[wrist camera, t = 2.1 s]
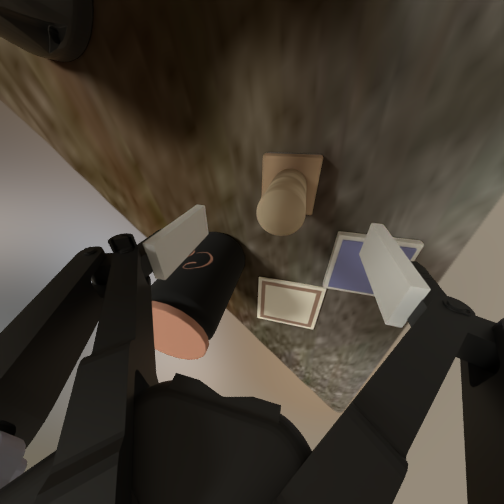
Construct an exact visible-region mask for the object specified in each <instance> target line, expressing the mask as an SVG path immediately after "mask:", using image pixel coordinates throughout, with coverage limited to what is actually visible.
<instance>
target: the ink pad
mask: <svg viewBox="0 0 504 504" xmlns="http://www.w3.org/2000/svg"><path fill="white" fill-rule="evenodd" d="M366 235H367V234H360V233H351V232H342V231H338V234H337V237H336V240H335V244H334V247H333V250H332V253H331V257H330V260H329V263H328V267H327V270H326V273H325V277H324V280H323V288H328V289H334V290H340V291H346V292H352V293H358V294H364V295H370V296H374V293H373V290H372V288H371V285H370V282H369V280H368V277H367V274H366V272H365V269H364V266H363V264H362V261H361V258H360V256H359V253H360V250H361V248H362V245H363V243H364V240H365V238H366ZM393 238H394V240H395V241H396V242H397V244H398V245H399V246H400V248H401V249H402V251H403V252H404V253H405V255H406V256H407V257H408V259H409V260H410V261H415V259H416V257H417V256H418V254H419V253H420V251H421V249H422V248H423V246H424V244H423V243H422V242H421V240H413V239H404V238H396V237H393Z"/></svg>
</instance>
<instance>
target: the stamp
mask: <svg viewBox="0 0 504 504" xmlns="http://www.w3.org/2000/svg"><path fill="white" fill-rule="evenodd" d="M322 161H323V156H322V154H303V153H277V152H267V153H265V154H264V155H263V170H262V198H261V200H260V202H259V203H258V206H257V219H258V222H259V224H260V225H261V226H262V228H263V229H264V230H266V231H267V232H269V233H270V234H273V235H277V236H286V235H290V234H292V233H294V232H296V231H297V230H298V229H299V228H300V227H301V226H302V224H303V222H304V220H305V214H307V215H312V211H313V206H314V201H315V196H316V191H317V186H318V181H319V176H320V171H321V166H322Z"/></svg>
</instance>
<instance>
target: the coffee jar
mask: <svg viewBox="0 0 504 504" xmlns="http://www.w3.org/2000/svg"><path fill="white" fill-rule="evenodd" d="M244 266H245V257H244V254H243V250H242V249H241V247H240V246H239V244H238V243H237V242H236V241H235V240H234V239H233V238H232V237H230V236H228V235H226V234H224V233H218V232H209V234H208V235H207V236H206V237H205V238H204V239H203V240H202V241H201V243H200V244H199V245H198V246H197V247H196V248H195V249H194V250H193V251H192V252H191V253H190V254H189V255H188V257H187V258H186V259H185V260H184V261H183V262H182V263H181V264H180V265H179V266H178V267H177V268H176V269H175V271H174V272H173V273H172V274H171V275H170V276H169V277H168V278H167V279H166V280H161V279H157V280H156V281H155V282H154V283H153V284H152V285H151V296H152V313H153V330H154V347H155V349H156V350H158V351H160V352H163V353H165V354H167V355H170V356H173V357H176V358H181V359H187V360H190V359H198V358H201V357H203V356H204V355H205V353H206V351H207V349H208V346H209V341H208V340H210V339H211V338H212V337H213V335H214V333H215V331H216V329H217V327H218V325H219V322H220V320H221V318H222V315H223V313H224V311H225V309H226V306H227V304H228V302H229V300H230V297H231V295H232V293H233V291H234V288H235V286H236V284H237V282H238V279H239V277H240V275H241V273H242V270H243V268H244Z"/></svg>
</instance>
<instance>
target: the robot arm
mask: <svg viewBox="0 0 504 504" xmlns="http://www.w3.org/2000/svg"><path fill="white" fill-rule="evenodd" d="M92 17H93V9H92V0H0V37H2V38H4V39H6V40H8V41H9V42H11V43H13V44H15V45H17V46H18V47H20V48H22V49H24V50H26V51H28V52H30V53H32V54H34V55H37V56H40V57H44V58H48V59H52V60H56V61H61V62H68V61H72V60H74V59H76V58H78V57H79V56H80V55H81V54H82V53H83V52H84V50H85V48H86V46H87V44H88V42H89V38H90V35H91V29H92ZM208 234H209V232H208V225H207V218H206V210H205V206H204V205H196V206H194V207H193V208H191V209H190V210H189V211H187V212H186V213H184V214H183V215H182V216H180V217H179V218H177V219H176V220H174V221H173V222H172V223H170V224H169V225H167V226H166V227H165V228H163V229H160V230H158V231H156V232H155V233H153V235H151V236H149V238H146V239H145V240H144V241H142V242H141V243H139V244H138V245H137V244H136V242H135V239H134V237H133V235H132V234H127V233H126V234H119V235H116V236H114V237H112V238H110V239H109V240H108V243H109V244H110V247H111V249H112V251H113V253H105V252H104V250H103V249H102V247H89V248H85V249H84V250H82V251H80V252H79V253H78V254H76V255H75V257H74V258H73V259H72V260H71V261H70V262H69V263H68V264H67V265H66V266H65V267H64V268H63V269H62V270H61V271H60V272H59V273H58V274H57V275H56V276H55V277H54V278H53V279H52V280H51V282H49V283H48V285H46V287H45V288H44V289H43V290H42V291H41V292H40V293H39V294H38V295H37V296H36V297H35V298H34V299H33V300H32V301H31V302H30V303H29V304H28V305H27V306H26V307H25V308H24V309H23V310H22V312H20V314H19V315H17V317H16V318H15V319H14V320H13V321H12V322H11V323H10V324H9V325H8V326H7V327H6V328H5V329H4V330H3V331H2V332H1V333H0V504H392V503H393V501H394V499H395V497H396V495H397V493H398V491H399V489H400V486H401V484H402V482H403V480H404V478H405V475H406V472H407V469H408V463H407V461H406V455H407V453H408V450H409V449H410V447H411V445H412V443H413V441H414V438H415V437H416V434H417V433H418V431H419V429H420V427H421V425H422V423H423V421H424V419H425V416H426V415H427V413H428V410H429V409H430V407H431V405H432V403H433V401H434V399H435V397H436V395H437V393H438V391H439V389H440V387H441V384H442V383H443V381H444V379H445V377H446V375H447V373H448V371H449V369H450V367H451V365H452V363H453V360H454V359H455V357H457V358H460V360H461V381H462V401H463V421H464V440H465V460H466V480H467V499H468V504H504V318H503V319H501V320H500V321H499V322H498V323H495V322H492V321H489V320H486V319H483V318H480V317H478V316H475V313H474V312H473V310H472V309H471V308H470V307H469V306H467V305H466V304H464V303H463V302H461V301H459V300H457V299H455V298H452V297H449V296H447V295H446V294H445V293H444V292H443V290H442V289H441V288H440V287H439V285H438V284H437V283H436V281H435V280H433V278H432V276H431V275H429V273H428V271H427V270H426V269H425V268H424V267H423V266H422V265H420V264H419V263H417V262H415V261H410V260H409V259H408V257H407V256H406V255H405V253H404V252H403V251H402V249H401V248H400V246H399V245H398V244H397V242H396V241H395V240H394V238H393V237H392V235H391V234H390V233H389V231H388V230H387V229H386V227H385V226H384V225H383V224H377V223H371V225H370V228H369V230H368V233H367V235H366V238H365V240H364V243H363V245H362V248H361V250H360V253H359V256H360V258H361V261H362V264H363V266H364V269H365V272H366V274H367V277H368V280H369V282H370V285H371V288H372V290H373V293H374V296H375V298H376V301H377V304H378V306H379V309H380V312H381V314H382V317H383V320H384V322H385V324H386V325H391V326H396V327H401V328H402V327H403V326H404V324H405V323H406V322H407V320H408V322H409V324H410V326H411V328H410V330H409V331H408V332H407V333H406V334H405V336H404V337H403V338H402V339H401V341H400V342H399V343H398V344H397V346H396V347H395V348H394V350H393V351H392V352H391V353H390V355H389V356H388V357H387V358H386V360H385V361H384V362H383V363H382V365H381V366H380V367H379V368H378V370H377V371H376V372H375V374H374V375H373V376H372V377H371V378H370V380H369V381H368V382H367V383H366V385H365V386H364V387H363V388H362V390H361V391H360V392H359V394H358V395H357V396H356V397H355V399H354V400H353V401H352V402H351V404H350V405H349V406H348V407H347V409H346V410H345V411H344V413H343V414H342V415H341V416H340V417H339V419H338V420H337V421H336V423H335V424H334V425H333V426H332V428H331V429H330V430H329V431H328V432H327V434H326V435H325V436H324V438H323V439H322V440H321V441H320V443H319V444H318V445H317V446H316V448H315V449H314V450H313V451H311V449H310V447H309V445H308V443H307V442H306V440H305V438H304V437H303V436H302V434H301V433H300V432H299V430H298V429H297V428H296V427H295V426H294V425H293V423H291V422H290V421H289V420H288V419H287V418H286V417H285V416H283V415H282V414H280V410H281V405H278V404H274V403H271V402H268V401H265V400H262V399H258V398H255V397H223V396H221V395H219V394H218V393H216V392H215V391H214V390H212V389H211V388H210V387H208V386H207V385H205V384H204V383H203V382H201V381H200V380H197V379H194V378H191V377H188V376H184V375H181V374H178V373H176V374H175V376H174V378H173V380H172V381H165V382H161V383H158V379H157V375H156V364H155V347H154V330H153V313H152V296H151V279H150V277H149V274H151V273H152V272H153V273H154V276H155V278H157V279H161V280H166V279H167V278H168V277H169V276H170V275H171V274H172V273H173V272H174V271H175V269H176V268H177V267H178V266H179V265H180V264H181V263H182V262H183V261H184V260H185V259H186V258H187V257H188V255H189V254H190V253H191V252H192V251H193V250H194V249H195V248H196V247H197V246H198V245H199V244H200V243H201V241H202V240H203V239H204V238H205V237H206V236H207V235H208ZM91 281H92V283H91ZM98 321H99V323H98ZM97 323H98V328H97V332H96V337H95V342H94V346H93V351H92V354H91V355H90V356H87V357H84V358H83V359H82V360H81V361H80V364H79V366H78V369H77V373H76V377H75V381H74V385H73V389H72V393H71V397H70V400H69V404H68V408H67V412H66V416H65V420H64V423H63V427H62V431H61V435H60V439H59V443H58V447H57V450H56V451H55V452H53V453H52V454H50V455H49V456H47V457H46V458H45V459H43V460H41V461H40V462H39V463H37V464H36V465H34V466H33V467H31V468H30V469H29V470H27V471H26V472H24V471H25V469H26V466H27V460H26V459H24V458H23V456H24V453H25V449H26V448H27V447H28V445H29V444H30V443H31V441H32V440H33V438H34V437H35V435H36V434H37V432H38V431H39V429H40V428H41V426H42V425H43V423H44V422H45V420H46V418H47V417H48V415H49V413H50V411H51V410H52V408H53V406H54V404H55V402H56V401H57V399H58V397H59V395H60V393H61V391H62V389H63V387H64V386H65V384H66V382H67V380H68V378H69V376H70V374H71V372H72V370H73V368H74V367H75V365H76V363H77V361H78V359H79V357H80V355H81V353H82V351H83V350H84V348H85V346H86V344H87V342H88V340H89V338H90V336H91V334H92V333H93V331H94V328H95V327H96V325H97Z"/></svg>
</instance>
